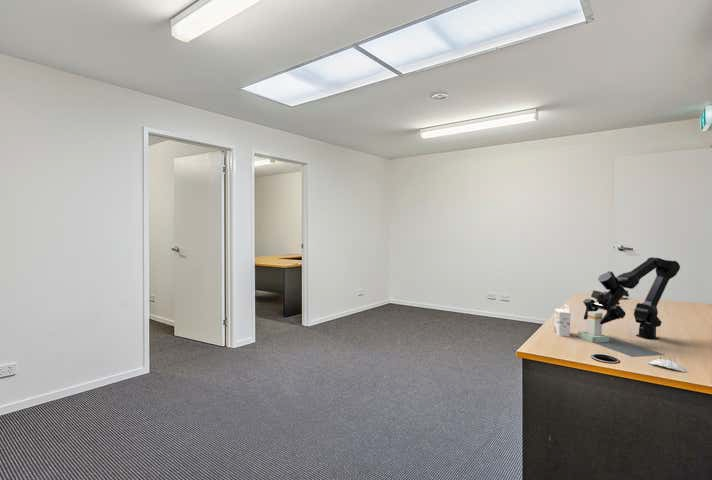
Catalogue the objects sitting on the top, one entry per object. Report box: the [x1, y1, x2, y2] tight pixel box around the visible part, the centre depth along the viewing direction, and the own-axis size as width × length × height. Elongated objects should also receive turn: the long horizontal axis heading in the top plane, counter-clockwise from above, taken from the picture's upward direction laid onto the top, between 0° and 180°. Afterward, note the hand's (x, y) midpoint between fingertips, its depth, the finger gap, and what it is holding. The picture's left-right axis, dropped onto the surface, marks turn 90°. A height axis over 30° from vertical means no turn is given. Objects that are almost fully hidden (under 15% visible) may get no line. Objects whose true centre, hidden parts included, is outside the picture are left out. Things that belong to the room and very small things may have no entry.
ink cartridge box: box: [553, 303, 571, 337], centre depth 189 cm, size 9×5×15 cm, turn 168°
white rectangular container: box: [586, 311, 603, 336], centre depth 180 cm, size 5×5×12 cm
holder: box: [577, 330, 610, 344], centre depth 180 cm, size 9×9×2 cm
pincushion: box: [647, 355, 688, 373], centre depth 144 cm, size 12×6×6 cm, turn 36°
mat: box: [574, 334, 666, 358], centre depth 172 cm, size 16×30×1 cm, turn 13°
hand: (592, 321), depth 180 cm, fingers open, 9 cm apart
